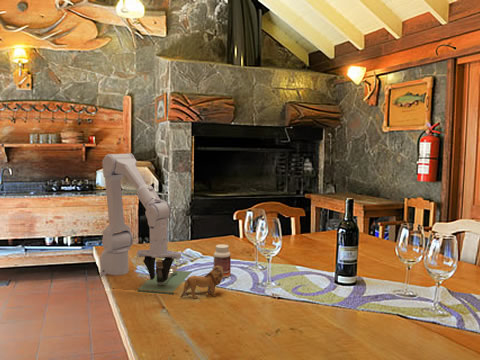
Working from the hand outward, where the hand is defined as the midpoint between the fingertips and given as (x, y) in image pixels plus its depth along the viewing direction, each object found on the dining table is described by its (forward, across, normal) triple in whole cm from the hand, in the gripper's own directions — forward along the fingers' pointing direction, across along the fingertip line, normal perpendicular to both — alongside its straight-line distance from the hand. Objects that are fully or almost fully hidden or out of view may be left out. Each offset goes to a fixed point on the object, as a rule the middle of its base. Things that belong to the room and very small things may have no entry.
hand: (159, 279), depth 146 cm
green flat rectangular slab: (+3, 0, +6) cm, 7 cm away
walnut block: (+2, -5, +14) cm, 15 cm away
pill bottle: (+3, +18, +17) cm, 25 cm away
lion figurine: (+3, +16, -3) cm, 16 cm away
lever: (+2, 0, +8) cm, 8 cm away
